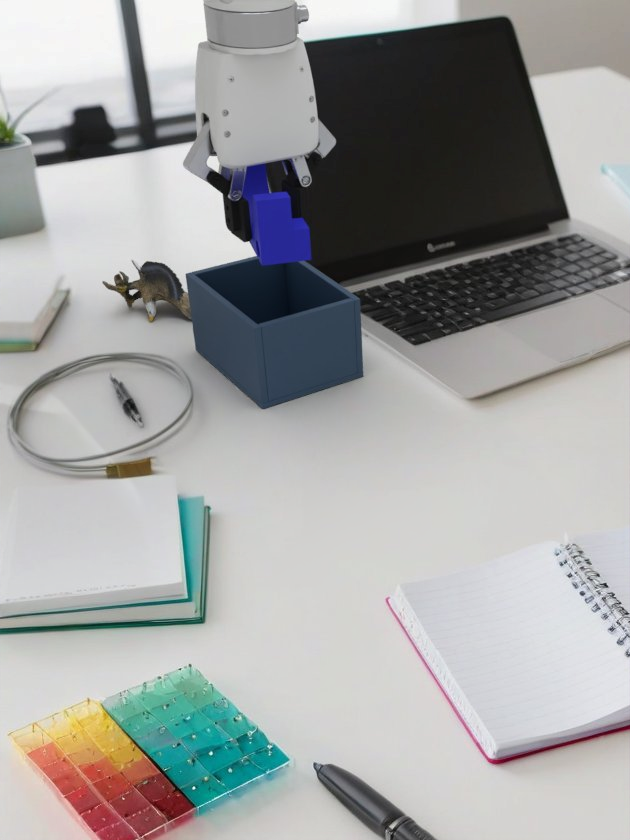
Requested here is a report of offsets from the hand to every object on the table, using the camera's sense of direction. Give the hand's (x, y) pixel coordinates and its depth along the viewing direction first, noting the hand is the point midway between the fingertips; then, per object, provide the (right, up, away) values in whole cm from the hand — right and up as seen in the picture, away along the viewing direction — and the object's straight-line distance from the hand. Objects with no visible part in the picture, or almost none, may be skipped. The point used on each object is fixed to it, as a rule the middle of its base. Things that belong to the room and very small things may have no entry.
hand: (268, 228), depth 108 cm
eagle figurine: (-16, -5, +18) cm, 25 cm away
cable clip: (0, -1, +1) cm, 1 cm away
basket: (-1, -11, +10) cm, 15 cm away
